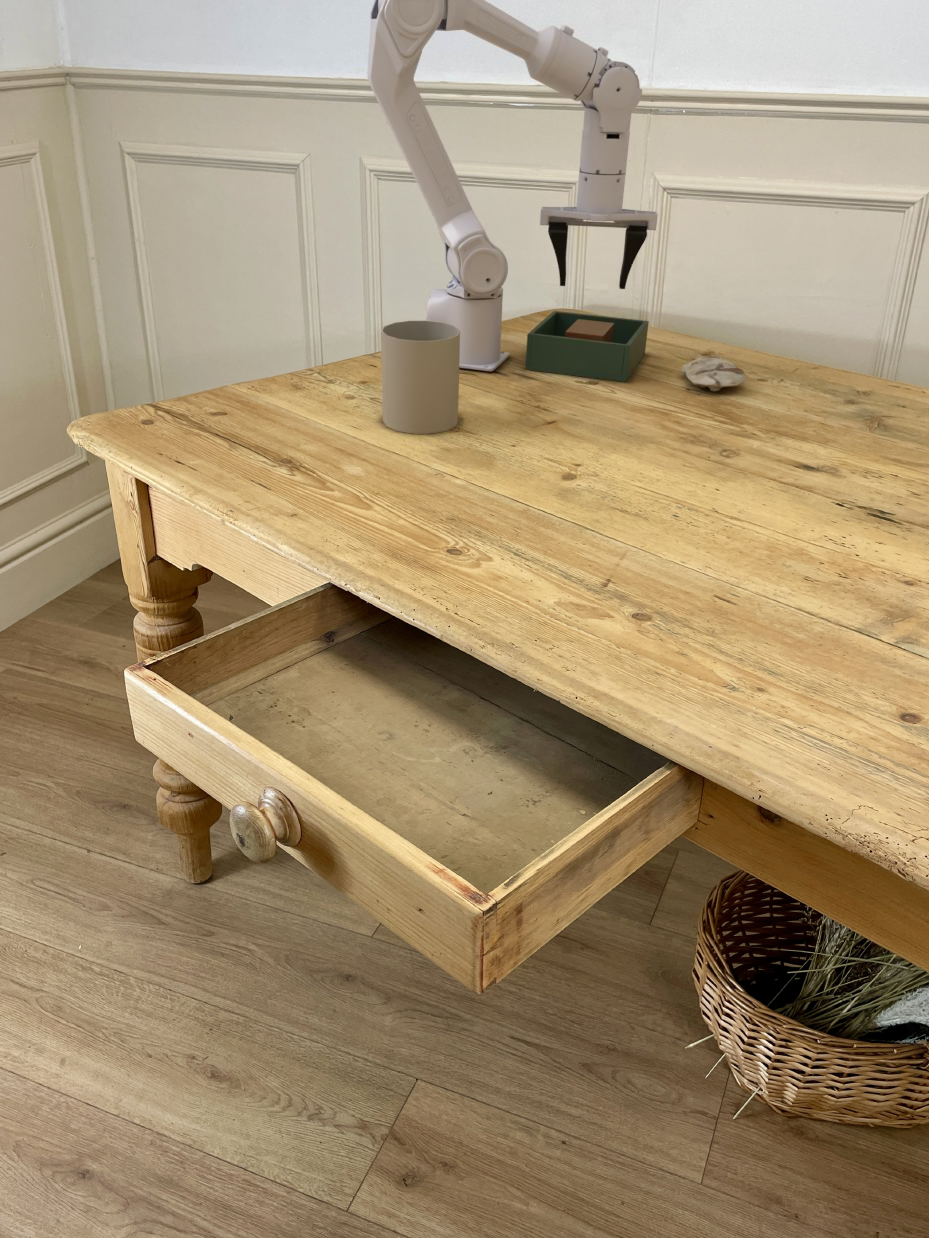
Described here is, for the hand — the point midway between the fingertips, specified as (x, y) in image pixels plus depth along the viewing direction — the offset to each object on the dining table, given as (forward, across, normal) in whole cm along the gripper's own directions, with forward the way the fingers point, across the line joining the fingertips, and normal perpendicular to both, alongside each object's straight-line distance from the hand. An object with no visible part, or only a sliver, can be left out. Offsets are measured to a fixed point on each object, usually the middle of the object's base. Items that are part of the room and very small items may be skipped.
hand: (592, 286), depth 129 cm
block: (+9, 0, -2) cm, 9 cm away
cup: (+10, -18, -28) cm, 35 cm away
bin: (+9, 0, -2) cm, 10 cm away
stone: (+10, +16, -9) cm, 21 cm away
